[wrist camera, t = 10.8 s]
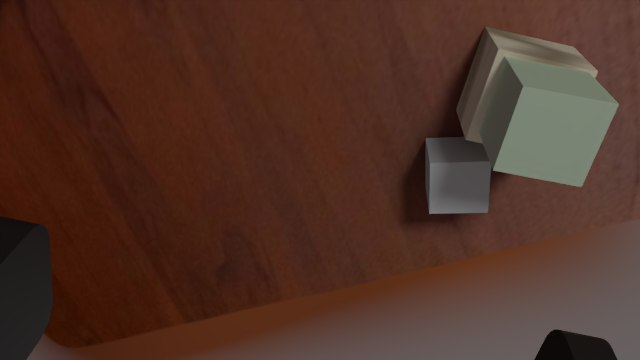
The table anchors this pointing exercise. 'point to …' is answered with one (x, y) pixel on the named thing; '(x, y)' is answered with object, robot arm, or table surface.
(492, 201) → the table surface
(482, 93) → the maple block
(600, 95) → the green cube
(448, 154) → the grey block
